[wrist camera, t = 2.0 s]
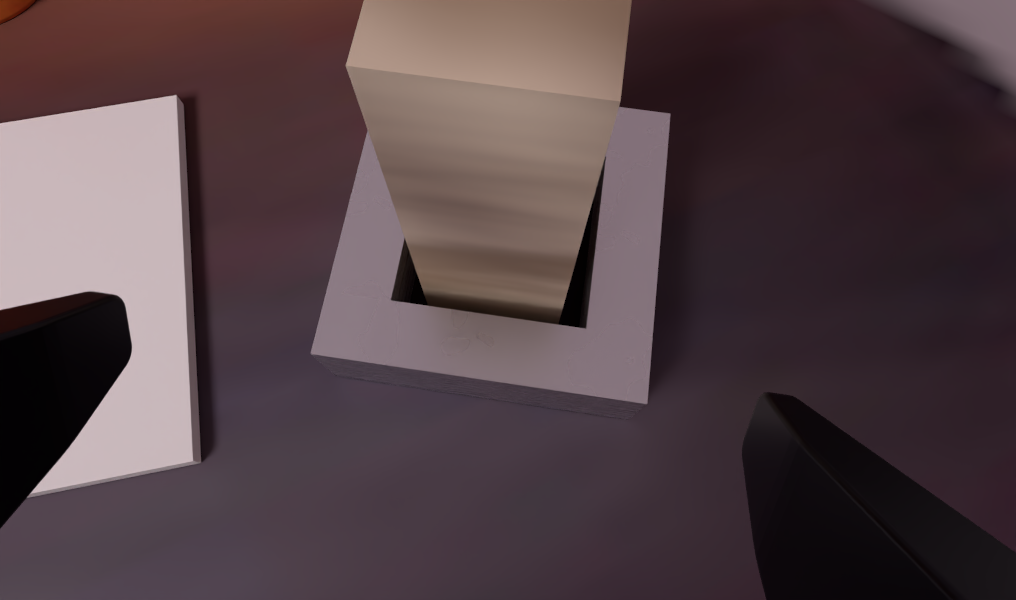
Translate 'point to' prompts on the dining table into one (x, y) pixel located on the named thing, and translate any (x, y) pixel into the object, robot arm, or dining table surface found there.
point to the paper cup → (13, 8)
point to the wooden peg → (491, 138)
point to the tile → (110, 270)
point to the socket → (502, 340)
